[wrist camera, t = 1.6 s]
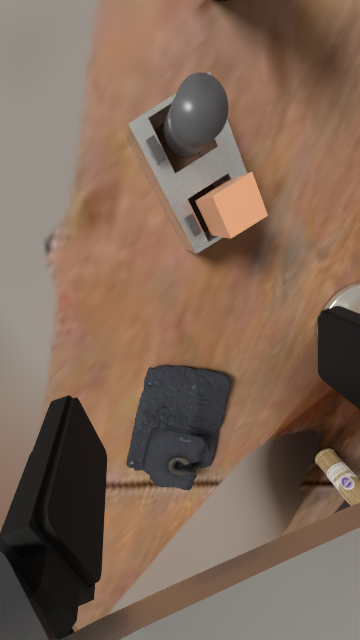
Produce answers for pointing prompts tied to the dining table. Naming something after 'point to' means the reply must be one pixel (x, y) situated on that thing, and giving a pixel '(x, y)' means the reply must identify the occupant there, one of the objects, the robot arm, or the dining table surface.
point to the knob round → (195, 115)
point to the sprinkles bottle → (339, 475)
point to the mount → (183, 173)
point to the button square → (232, 206)
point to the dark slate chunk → (177, 423)
